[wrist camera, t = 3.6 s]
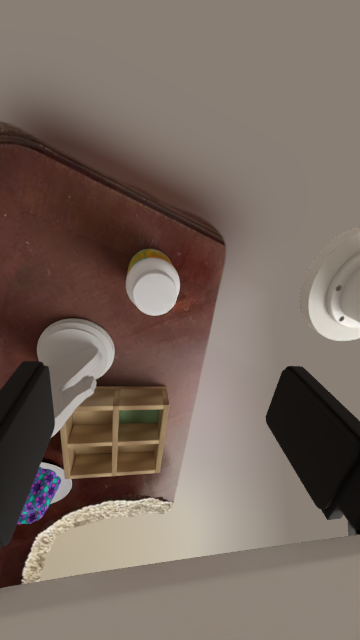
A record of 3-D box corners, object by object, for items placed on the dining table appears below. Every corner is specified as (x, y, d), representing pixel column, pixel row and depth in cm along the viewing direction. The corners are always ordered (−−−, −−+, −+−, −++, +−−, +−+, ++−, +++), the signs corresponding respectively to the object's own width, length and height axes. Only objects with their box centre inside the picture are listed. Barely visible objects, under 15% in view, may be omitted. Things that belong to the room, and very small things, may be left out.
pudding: (76, 497, 45) (68, 530, 40) (6, 505, 43) (-10, 541, 38) (68, 454, 40) (59, 486, 36) (-11, 461, 38) (-32, 496, 33)
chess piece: (126, 364, 35) (117, 462, 21) (63, 388, 35) (15, 501, 21) (93, 307, 30) (56, 383, 17) (22, 334, 30) (-71, 432, 17)
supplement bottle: (141, 239, 28) (142, 251, 19) (180, 262, 30) (196, 284, 21) (120, 278, 29) (112, 306, 21) (158, 298, 31) (165, 332, 22)
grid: (166, 386, 37) (169, 405, 34) (158, 450, 43) (159, 472, 40) (66, 386, 35) (57, 406, 31) (71, 455, 40) (64, 479, 37)
